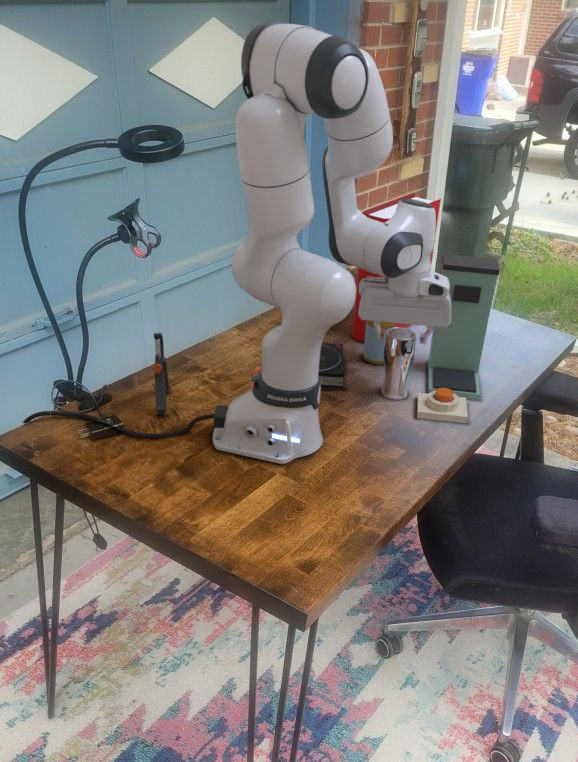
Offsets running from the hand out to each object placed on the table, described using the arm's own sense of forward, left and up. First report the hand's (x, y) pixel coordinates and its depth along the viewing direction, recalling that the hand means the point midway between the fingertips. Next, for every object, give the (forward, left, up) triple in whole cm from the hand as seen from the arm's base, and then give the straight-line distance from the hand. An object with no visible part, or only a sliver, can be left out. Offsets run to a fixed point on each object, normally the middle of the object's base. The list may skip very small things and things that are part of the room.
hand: (401, 340), depth 162 cm
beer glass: (0, 0, -13) cm, 13 cm away
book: (-3, +39, -13) cm, 41 cm away
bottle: (-5, +17, -13) cm, 22 cm away
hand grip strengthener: (-50, -16, -13) cm, 54 cm away
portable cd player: (-21, +6, -13) cm, 26 cm away
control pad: (+11, -6, -13) cm, 18 cm away
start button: (+11, -6, -10) cm, 16 cm away
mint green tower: (+14, +10, -13) cm, 21 cm away
